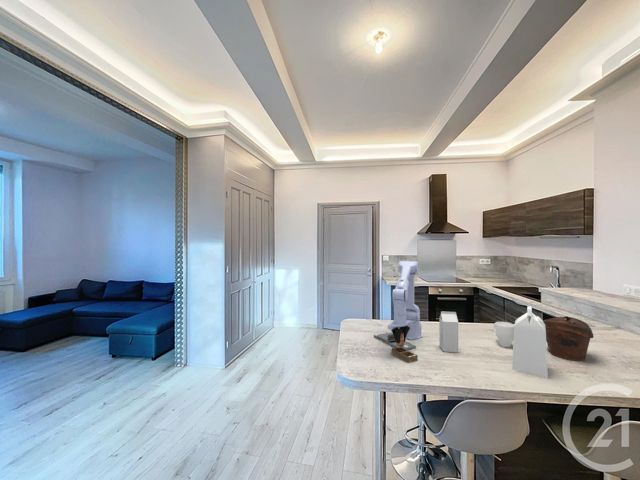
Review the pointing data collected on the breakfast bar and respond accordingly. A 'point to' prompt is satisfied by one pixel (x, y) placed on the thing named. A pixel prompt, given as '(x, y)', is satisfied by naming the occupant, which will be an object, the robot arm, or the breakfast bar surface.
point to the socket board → (404, 354)
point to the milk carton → (448, 331)
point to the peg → (401, 340)
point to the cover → (387, 337)
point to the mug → (504, 333)
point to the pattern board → (394, 344)
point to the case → (568, 337)
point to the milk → (530, 345)
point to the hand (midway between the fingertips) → (400, 341)
